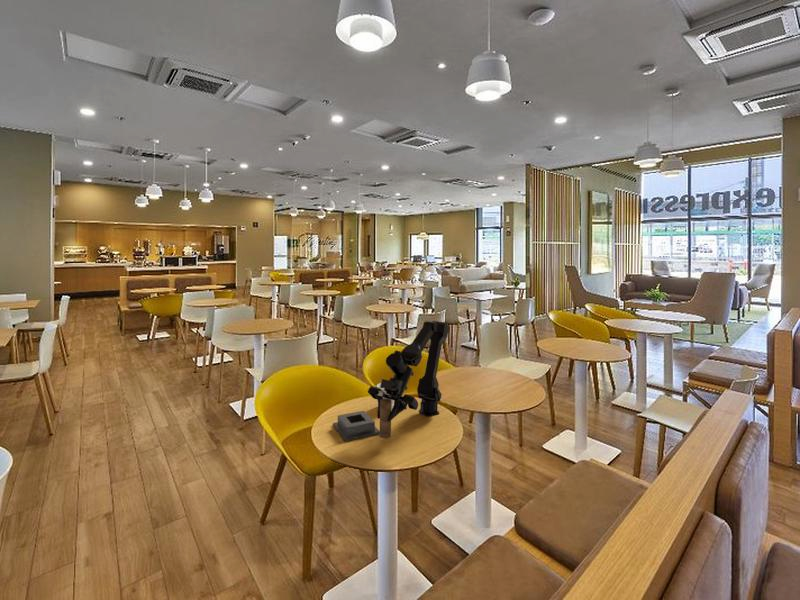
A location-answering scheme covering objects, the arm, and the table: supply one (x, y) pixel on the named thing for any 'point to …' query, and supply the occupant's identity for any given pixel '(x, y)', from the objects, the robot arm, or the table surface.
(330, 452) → the table surface
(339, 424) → the socket
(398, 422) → the table surface
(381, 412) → the peg
